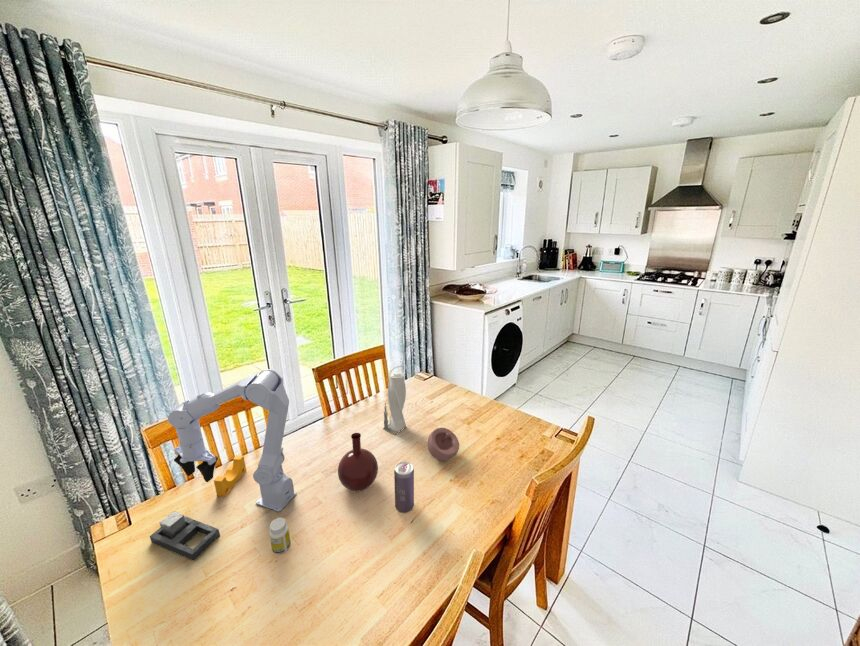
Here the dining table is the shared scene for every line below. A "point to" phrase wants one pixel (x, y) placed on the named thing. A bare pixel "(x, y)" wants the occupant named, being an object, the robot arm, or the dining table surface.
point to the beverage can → (404, 487)
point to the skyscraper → (395, 402)
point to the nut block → (173, 525)
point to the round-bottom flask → (357, 467)
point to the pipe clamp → (230, 476)
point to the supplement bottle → (279, 536)
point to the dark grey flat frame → (187, 539)
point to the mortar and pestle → (443, 444)
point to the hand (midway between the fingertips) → (200, 476)
